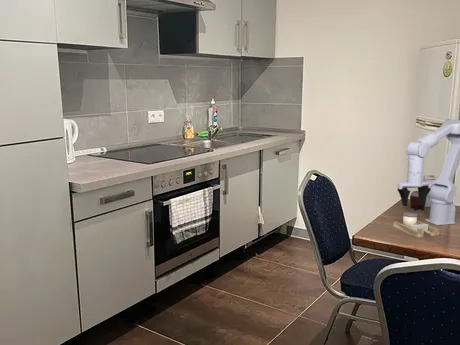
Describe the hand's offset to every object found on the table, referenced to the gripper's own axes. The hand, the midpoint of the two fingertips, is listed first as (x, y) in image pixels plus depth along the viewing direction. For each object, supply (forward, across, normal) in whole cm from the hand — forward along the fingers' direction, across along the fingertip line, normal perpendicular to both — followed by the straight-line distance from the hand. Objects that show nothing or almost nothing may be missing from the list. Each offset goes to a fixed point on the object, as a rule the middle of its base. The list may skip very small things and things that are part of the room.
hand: (412, 205), depth 185 cm
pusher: (+10, 0, +8) cm, 12 cm away
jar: (+10, 0, -1) cm, 10 cm away
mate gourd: (+10, -23, -25) cm, 36 cm away
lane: (+10, 0, +3) cm, 10 cm away
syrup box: (+10, -32, -29) cm, 44 cm away
